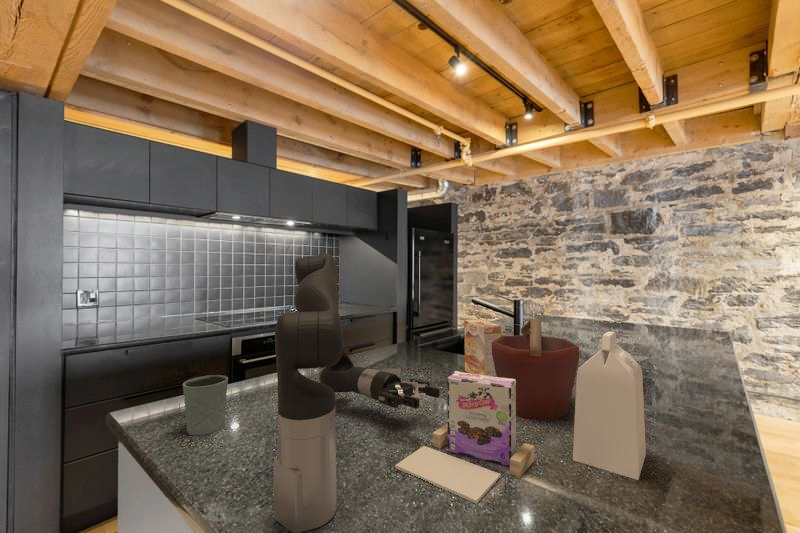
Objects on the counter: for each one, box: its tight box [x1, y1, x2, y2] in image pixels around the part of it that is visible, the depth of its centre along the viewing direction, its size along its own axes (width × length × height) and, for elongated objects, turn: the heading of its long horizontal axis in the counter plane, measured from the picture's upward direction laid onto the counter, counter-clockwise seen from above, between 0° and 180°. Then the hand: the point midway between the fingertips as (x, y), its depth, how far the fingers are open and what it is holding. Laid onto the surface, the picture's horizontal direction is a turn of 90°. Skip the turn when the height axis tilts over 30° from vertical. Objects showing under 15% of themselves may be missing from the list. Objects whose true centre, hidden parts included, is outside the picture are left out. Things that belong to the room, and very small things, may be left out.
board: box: [394, 445, 502, 505], centre depth 72 cm, size 10×18×1 cm, turn 51°
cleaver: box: [382, 367, 402, 381], centre depth 129 cm, size 29×10×2 cm, turn 0°
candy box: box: [447, 370, 517, 467], centre depth 80 cm, size 14×6×16 cm, turn 62°
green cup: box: [182, 374, 229, 436], centre depth 94 cm, size 10×10×12 cm
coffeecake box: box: [463, 318, 502, 377], centre depth 135 cm, size 15×7×20 cm, turn 17°
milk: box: [572, 330, 647, 481], centre depth 77 cm, size 12×12×26 cm
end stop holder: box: [432, 422, 535, 479], centre depth 80 cm, size 8×20×3 cm, turn 51°
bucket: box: [492, 317, 580, 422], centre depth 104 cm, size 24×22×25 cm
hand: (429, 398), depth 88 cm, fingers open, 8 cm apart
